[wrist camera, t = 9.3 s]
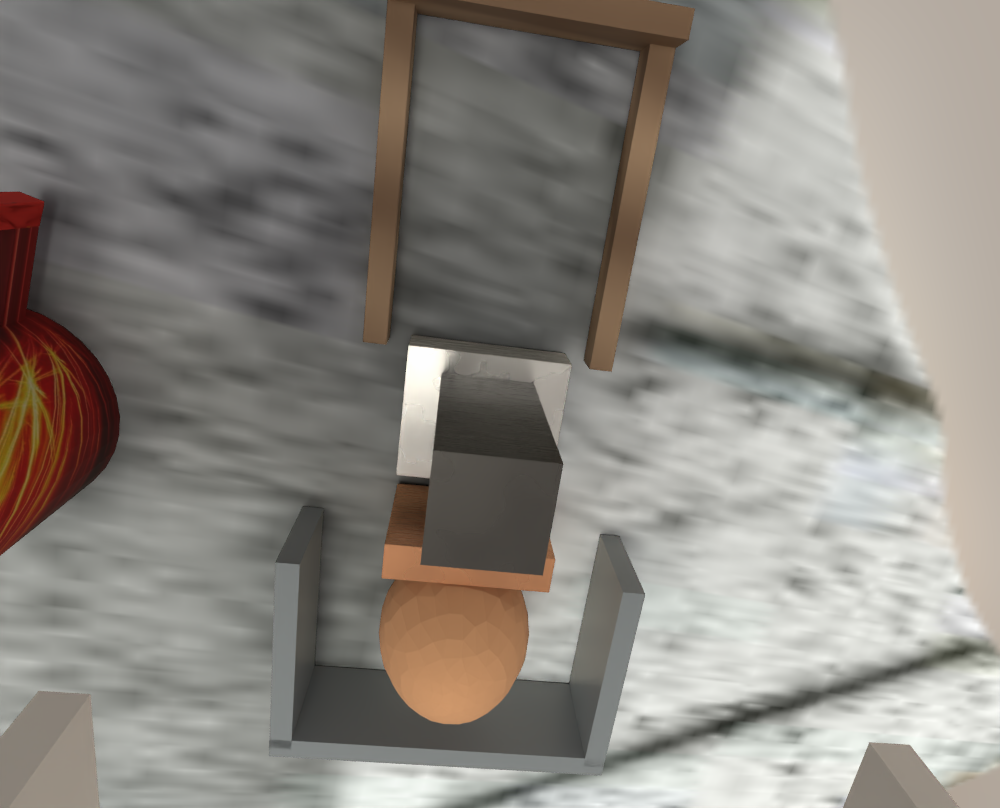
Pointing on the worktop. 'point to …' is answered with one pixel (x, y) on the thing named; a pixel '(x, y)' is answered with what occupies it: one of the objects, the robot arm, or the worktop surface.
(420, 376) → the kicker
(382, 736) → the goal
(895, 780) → the robot arm
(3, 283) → the mug
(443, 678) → the egg
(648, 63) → the rail
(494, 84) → the worktop surface
